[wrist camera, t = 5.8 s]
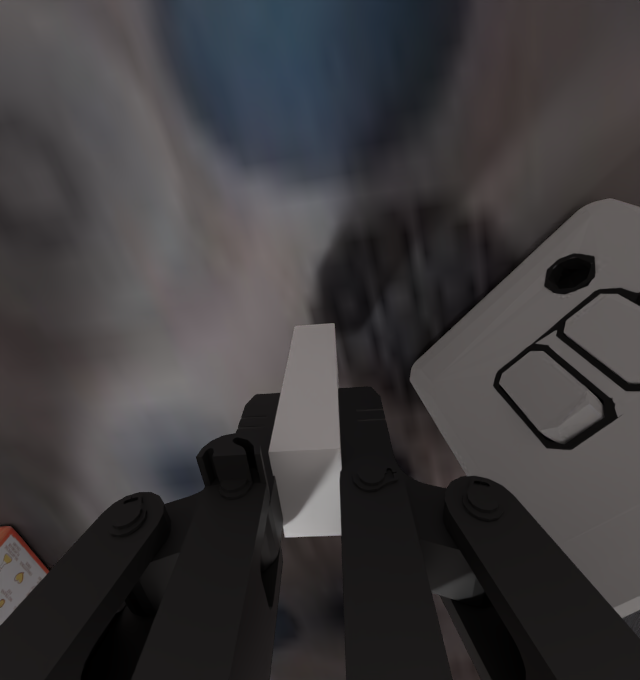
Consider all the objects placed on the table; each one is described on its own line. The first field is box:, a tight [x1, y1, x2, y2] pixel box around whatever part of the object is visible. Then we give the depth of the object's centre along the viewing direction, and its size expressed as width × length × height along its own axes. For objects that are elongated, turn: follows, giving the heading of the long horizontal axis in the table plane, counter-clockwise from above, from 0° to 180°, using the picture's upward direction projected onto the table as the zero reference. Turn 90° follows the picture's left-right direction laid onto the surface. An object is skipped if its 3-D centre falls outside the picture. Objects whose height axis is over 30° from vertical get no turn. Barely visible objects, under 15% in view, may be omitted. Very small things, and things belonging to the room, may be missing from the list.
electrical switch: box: [410, 198, 640, 618], centre depth 11 cm, size 9×5×9 cm, turn 141°
